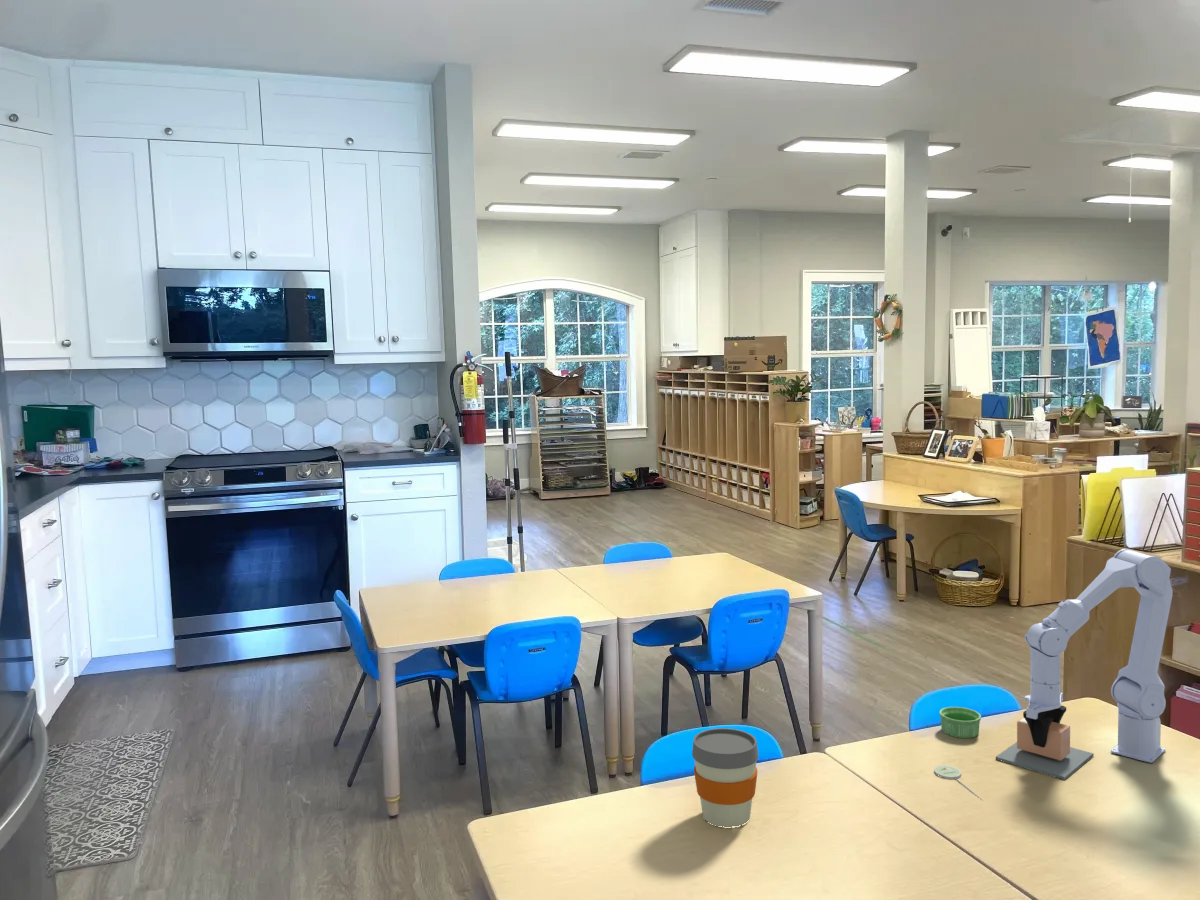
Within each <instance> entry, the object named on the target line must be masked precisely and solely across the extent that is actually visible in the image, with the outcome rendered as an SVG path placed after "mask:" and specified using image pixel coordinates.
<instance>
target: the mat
mask: <svg viewBox="0 0 1200 900" xmlns="http://www.w3.org/2000/svg"><path fill="white" fill-rule="evenodd" d="M1092 756H1093V757H1094V753H1093V752H1089V751H1086V750H1082V749H1080V748H1074V747H1071V746H1070V754H1069V755H1067V756H1066V757H1065V758H1064V759H1062V760H1057V759H1054V758H1050V757H1046V756H1043V755H1039V754H1036V753H1032V752H1028V751H1025V750H1021V749H1018V748H1017V741H1016V742H1015V743H1013V744H1012V745H1010V746H1009V747H1008V748H1006V749H1005V750H1003V751H1002V752H1000V753H999V754H997V755H996V756H995V760H996V759H998V760H997V761H999V760H1002V761H1001V762H1003V761H1004V763H1006V762H1008V763H1007V764H1009V763H1011V764H1010V765H1013V764H1014V766H1016V765H1017V766H1016V767H1020V766H1021V767H1020V768H1023V767H1024V769H1026V768H1028V769H1027V770H1030V769H1031V770H1030V771H1033V770H1035V771H1034V772H1036V771H1038V772H1037V773H1040V772H1042V773H1041V774H1043V773H1045V774H1044V775H1046V774H1048V775H1047V776H1050V775H1051V776H1050V777H1053V776H1055V777H1054V778H1056V777H1058V778H1057V779H1060V778H1061V779H1060V780H1063V779H1065V780H1067V779H1068V778H1069V777H1070V776H1071V775H1072V774H1074V773H1075V772H1076V771H1078V770H1079V769H1080V768H1081V767H1082V766H1084V765H1085V764H1086V763H1087V762H1088V761H1089V760H1090V759H1092V758H1093V757H1092ZM1091 757H1092V758H1091ZM1085 762H1086V763H1085ZM1079 767H1080V768H1079ZM1074 771H1075V772H1074ZM1073 772H1074V773H1073ZM1069 775H1070V776H1069ZM1068 776H1069V777H1068ZM1067 777H1068V778H1067ZM1066 778H1067V779H1066Z"/></svg>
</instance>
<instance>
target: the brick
mask: <svg viewBox="0 0 1200 900" xmlns="http://www.w3.org/2000/svg"><path fill="white" fill-rule="evenodd" d="M1016 742H1017V748H1018V749H1021V750H1025V751H1028V752H1032V753H1036V754H1039V755H1043V756H1046V757H1050V758H1054V759H1057V760H1062V759H1064V758H1065V757H1066V756H1067V755H1069V754H1070V747H1071V725H1069V724H1068V725H1067V724H1063V723H1061V722H1060V723H1056V722H1051V724H1050V727H1049V730H1048V735H1047V741H1046V745H1045V747H1040V746H1036V745H1034V743H1033V739H1032V735H1031V731H1030V728H1029V726H1028V723H1027V721H1026V720H1025V718H1024V717H1022V718H1020V719H1019V720H1017V721H1016Z"/></svg>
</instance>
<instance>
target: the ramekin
mask: <svg viewBox="0 0 1200 900" xmlns="http://www.w3.org/2000/svg"><path fill="white" fill-rule="evenodd" d="M938 713H939V717H940V723H941V724H940V726H941V731H942V732H943V733H944V734H946V735H947V736H950V737H953V738H958V739H971V738H975V737H977V736H978V735H979V732H980V725H981V724H980V723H981V719H982V715H981V714H980V713H979V712H978V711H976V710H974V709H971V708H968V707H962V706H961V707H960V706H947V707H943V708H941V709H940V710H939V712H938Z"/></svg>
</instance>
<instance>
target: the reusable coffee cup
mask: <svg viewBox="0 0 1200 900" xmlns="http://www.w3.org/2000/svg"><path fill="white" fill-rule="evenodd" d="M692 739H693V740H692V751H691V754H692V755H691V756H692V758H693V761H694V766H693V773H694V780H695V787H696V793H697V795H698V796H699V799H700V805H701V812H702V818H703V817H704V818H703V820H704V819H705V820H706V821H708V822H709V823H711V824H713V825H716V826H722V827H723V826H724V827H732V826H739V825H742V824H744V823H746V822H747V821H748V820H749V819H750V820H751V813H752V812H751V811H752V804H753V798H755V795H756V787H757V779H758V778H757V777H758V768H757V761H758V759H759V748H758V742H757V739H756V737H755V736H754V735H753V734H751V733H749V732H746V731H744V730H740V729H737V728H736V729H735V728H727V727H726V728H723V727H721V728H719V727H718V728H710V729H707V730H703V731H700V732H699V733H697V734H696V735H695V736H694V737H693V738H692ZM705 820H704V821H705ZM750 820H749V821H750ZM706 821H705V822H706Z"/></svg>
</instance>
